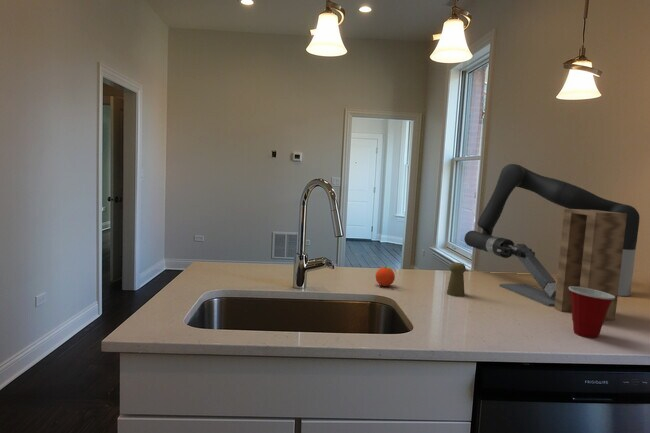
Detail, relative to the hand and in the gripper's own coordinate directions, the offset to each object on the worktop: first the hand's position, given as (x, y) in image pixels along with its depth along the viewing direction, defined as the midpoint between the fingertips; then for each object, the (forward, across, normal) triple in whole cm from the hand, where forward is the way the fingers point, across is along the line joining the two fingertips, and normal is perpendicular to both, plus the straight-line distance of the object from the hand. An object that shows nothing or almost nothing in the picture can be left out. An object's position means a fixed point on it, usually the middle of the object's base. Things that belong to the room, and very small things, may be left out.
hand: (528, 255), depth 162 cm
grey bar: (+4, 0, +6) cm, 7 cm away
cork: (+2, -30, +14) cm, 33 cm away
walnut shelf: (+27, 0, +13) cm, 30 cm away
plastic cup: (+43, -14, +13) cm, 47 cm away
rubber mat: (+5, 0, +13) cm, 14 cm away
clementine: (-10, -51, +14) cm, 54 cm away
